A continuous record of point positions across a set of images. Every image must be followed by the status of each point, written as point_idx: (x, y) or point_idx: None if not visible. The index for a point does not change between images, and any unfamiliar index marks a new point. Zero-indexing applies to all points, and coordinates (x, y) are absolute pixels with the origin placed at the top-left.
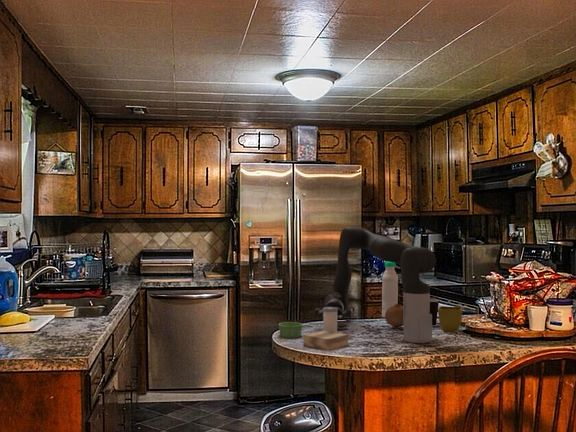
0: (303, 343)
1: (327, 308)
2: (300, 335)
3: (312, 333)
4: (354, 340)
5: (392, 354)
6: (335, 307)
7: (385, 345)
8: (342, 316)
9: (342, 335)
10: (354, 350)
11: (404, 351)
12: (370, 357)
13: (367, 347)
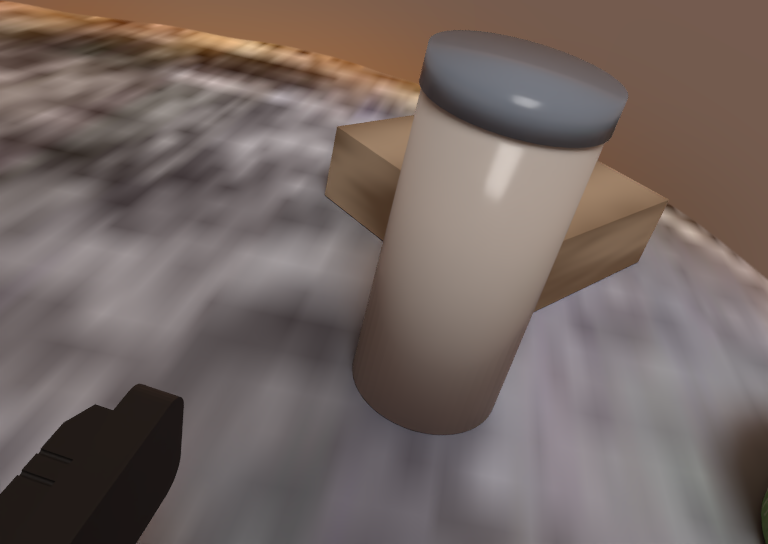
0: (641, 252)
1: (565, 62)
2: (762, 507)
3: (610, 207)
4: (216, 266)
5: (164, 51)
6: (452, 61)
7: (64, 129)
8: (176, 440)
9: (387, 125)
10: (329, 125)
11: (57, 53)
12: (296, 61)
13: (221, 135)
